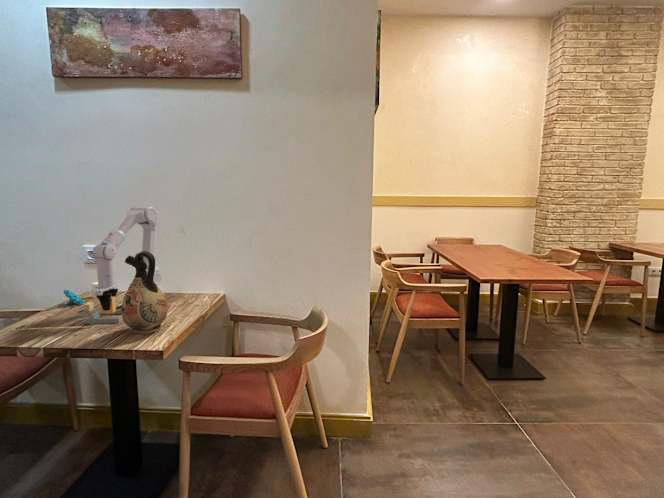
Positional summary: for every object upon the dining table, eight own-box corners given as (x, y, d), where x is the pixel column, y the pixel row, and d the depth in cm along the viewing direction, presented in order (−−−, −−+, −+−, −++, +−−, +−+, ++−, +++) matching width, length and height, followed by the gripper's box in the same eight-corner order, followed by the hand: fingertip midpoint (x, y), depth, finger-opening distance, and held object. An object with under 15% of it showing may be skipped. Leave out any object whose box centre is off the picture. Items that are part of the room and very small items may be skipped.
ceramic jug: (112, 334, 144) (106, 251, 140) (146, 321, 158) (142, 246, 154) (149, 341, 138) (143, 254, 134) (181, 327, 152) (177, 248, 148)
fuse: (116, 310, 161) (114, 295, 160) (112, 313, 158) (111, 297, 157) (104, 311, 160) (102, 295, 159) (100, 313, 157) (99, 297, 156)
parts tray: (130, 315, 166) (130, 309, 166) (119, 324, 154) (118, 318, 154) (100, 315, 165) (99, 310, 164) (85, 325, 153) (85, 319, 153)
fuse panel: (118, 307, 176) (117, 299, 175) (108, 314, 166) (108, 306, 166) (89, 308, 175) (88, 300, 174) (77, 315, 165) (77, 306, 164)
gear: (82, 304, 175) (62, 289, 173) (71, 315, 174) (51, 300, 171) (88, 301, 185) (70, 287, 183) (78, 311, 184) (59, 297, 182)
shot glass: (88, 298, 191) (87, 284, 190) (98, 294, 198) (97, 280, 197) (101, 299, 190) (100, 284, 189) (111, 295, 196) (110, 281, 195)
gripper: (103, 271, 164) (105, 303, 166) (86, 279, 149) (88, 314, 151) (121, 271, 164) (123, 303, 166) (106, 278, 150) (108, 314, 152)
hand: (108, 308), depth 159 cm, fingers closed on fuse, 3 cm apart
